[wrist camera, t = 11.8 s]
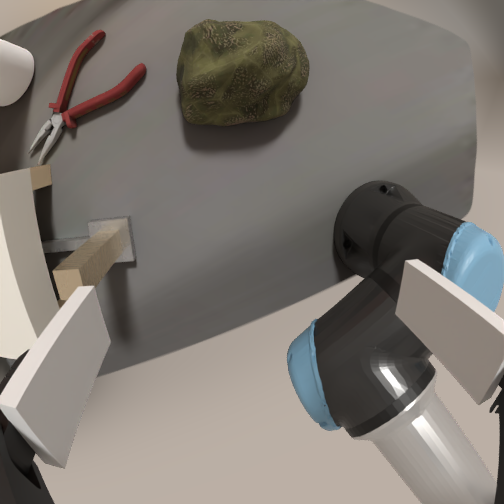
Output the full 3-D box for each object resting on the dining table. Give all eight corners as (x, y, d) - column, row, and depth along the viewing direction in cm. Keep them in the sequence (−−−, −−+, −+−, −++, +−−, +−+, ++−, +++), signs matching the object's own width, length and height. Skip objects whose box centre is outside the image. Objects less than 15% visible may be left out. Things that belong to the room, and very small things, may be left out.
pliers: (18, 136, 31) (8, 137, 28) (102, 30, 28) (96, 24, 25) (59, 182, 35) (51, 184, 32) (151, 71, 32) (147, 67, 29)
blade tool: (128, 201, 37) (84, 232, 23) (138, 270, 40) (107, 328, 26) (-5, 222, 34) (-62, 253, 20) (9, 277, 37) (-40, 320, 23)
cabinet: (49, 164, 33) (-5, 175, 21) (80, 313, 41) (48, 363, 29) (-10, 180, 32) (-62, 197, 19) (22, 313, 40) (-13, 354, 28)
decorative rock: (283, 140, 38) (309, 149, 29) (167, 119, 34) (157, 120, 25) (306, 44, 32) (338, 27, 23) (192, 18, 28) (191, -11, 19)
